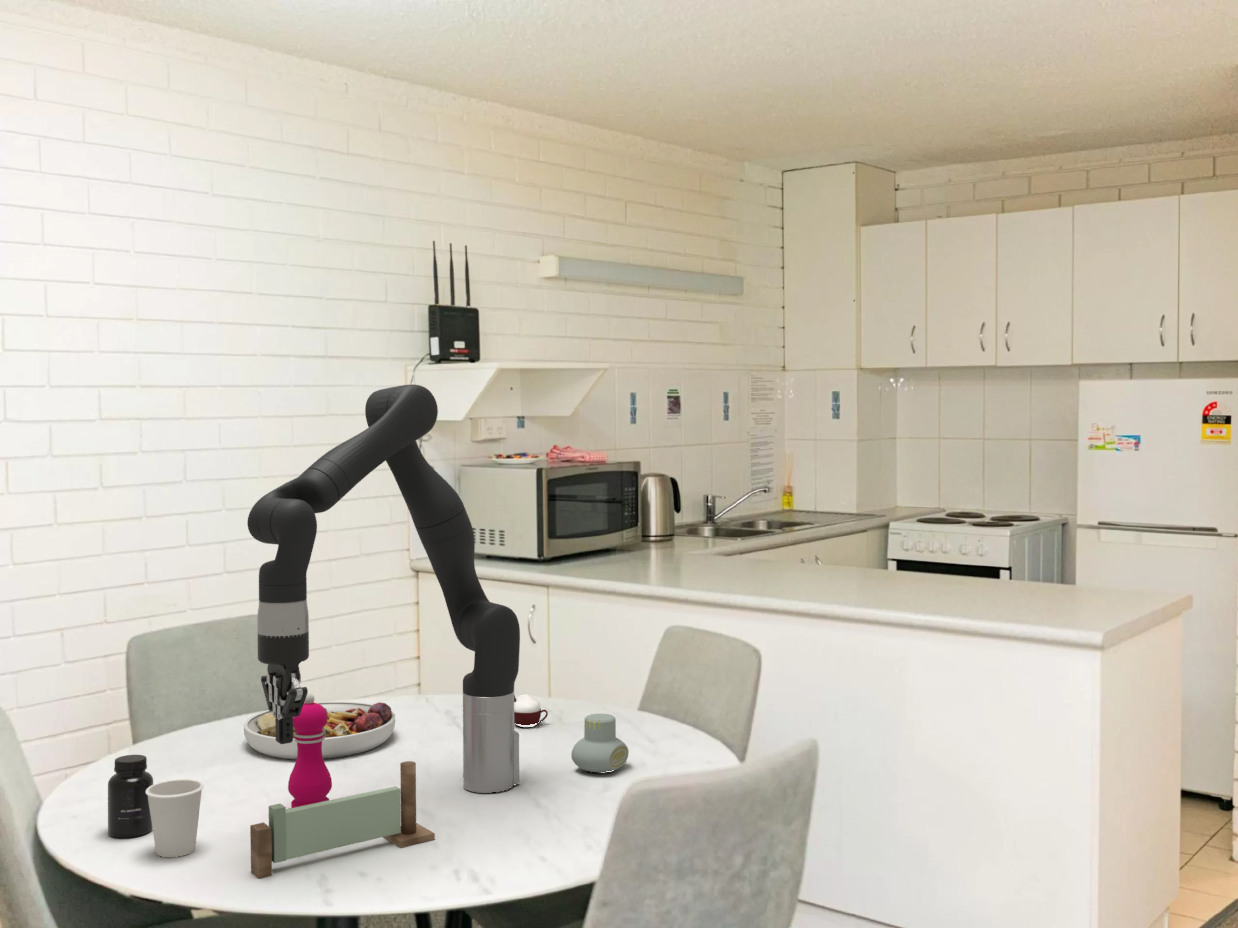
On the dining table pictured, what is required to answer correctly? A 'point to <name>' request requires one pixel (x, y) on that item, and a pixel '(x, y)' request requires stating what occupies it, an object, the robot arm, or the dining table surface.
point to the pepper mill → (309, 756)
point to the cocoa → (527, 710)
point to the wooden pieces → (407, 837)
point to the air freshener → (600, 745)
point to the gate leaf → (333, 823)
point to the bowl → (328, 730)
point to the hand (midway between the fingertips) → (284, 742)
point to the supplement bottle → (129, 798)
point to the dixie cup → (175, 815)
